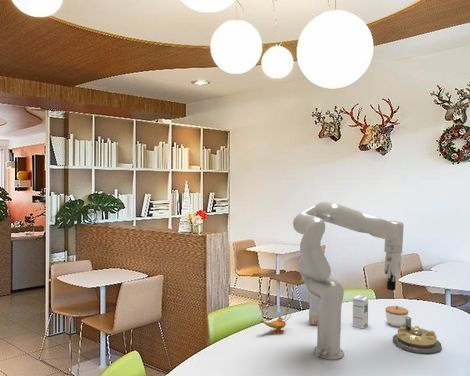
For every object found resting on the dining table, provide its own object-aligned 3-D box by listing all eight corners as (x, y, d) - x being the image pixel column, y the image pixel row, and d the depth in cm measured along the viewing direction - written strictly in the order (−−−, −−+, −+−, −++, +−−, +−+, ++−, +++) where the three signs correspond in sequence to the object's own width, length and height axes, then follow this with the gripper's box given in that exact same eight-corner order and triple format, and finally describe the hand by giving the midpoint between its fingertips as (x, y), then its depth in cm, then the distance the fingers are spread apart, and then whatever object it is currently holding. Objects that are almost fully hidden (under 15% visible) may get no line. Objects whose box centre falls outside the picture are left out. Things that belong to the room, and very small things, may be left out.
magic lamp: (255, 333, 206) (255, 310, 206) (285, 326, 216) (286, 304, 215) (264, 338, 201) (264, 314, 200) (294, 331, 210) (295, 308, 209)
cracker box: (336, 322, 222) (337, 281, 221) (338, 326, 216) (339, 284, 215) (308, 321, 224) (309, 280, 223) (309, 325, 218) (310, 283, 217)
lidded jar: (409, 329, 214) (410, 310, 213) (386, 327, 216) (387, 308, 215) (405, 321, 224) (406, 303, 224) (383, 320, 226) (384, 302, 226)
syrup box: (363, 329, 213) (364, 299, 213) (352, 326, 217) (352, 297, 216) (367, 325, 218) (368, 297, 217) (356, 323, 221) (357, 294, 221)
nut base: (436, 358, 182) (436, 354, 182) (387, 346, 193) (387, 342, 193) (445, 342, 198) (445, 338, 198) (399, 332, 210) (399, 329, 209)
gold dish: (396, 344, 191) (397, 326, 191) (398, 331, 206) (398, 314, 206) (436, 350, 185) (437, 331, 185) (435, 337, 200) (436, 319, 199)
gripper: (397, 252, 188) (394, 294, 188) (406, 248, 200) (404, 288, 200) (379, 249, 192) (377, 291, 193) (389, 245, 204) (387, 284, 205)
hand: (391, 289), depth 197 cm, fingers closed
